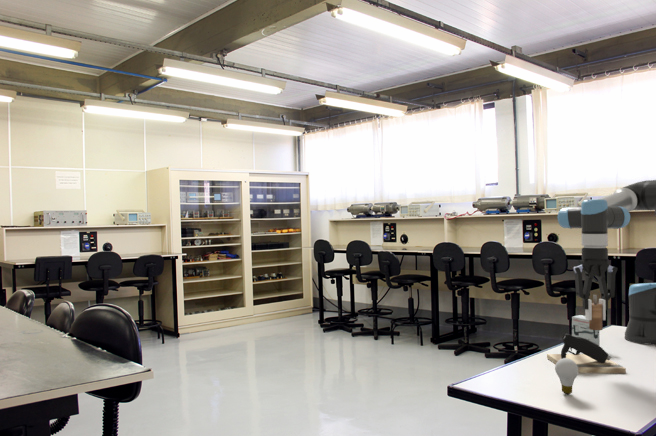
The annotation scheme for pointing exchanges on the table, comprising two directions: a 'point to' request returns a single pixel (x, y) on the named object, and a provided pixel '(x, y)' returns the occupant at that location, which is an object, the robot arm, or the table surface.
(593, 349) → the gun
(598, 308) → the awl
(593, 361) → the board
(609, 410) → the table surface
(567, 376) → the light bulb
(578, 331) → the ink box
